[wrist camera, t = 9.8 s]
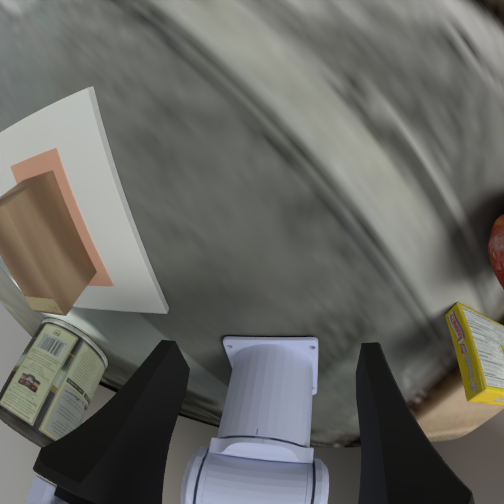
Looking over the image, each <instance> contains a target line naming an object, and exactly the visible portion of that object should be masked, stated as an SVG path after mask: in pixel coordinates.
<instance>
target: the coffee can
mask: <svg viewBox="0 0 504 504" xmlns="http://www.w3.org/2000/svg"><path fill="white" fill-rule="evenodd" d="M107 366H108V361H107V358H106V356H105V354H104V353H103V351H102V350H101V349H100V348H99V347H98V346H97V345H96V344H95V343H94V342H93V341H92V340H91V339H90V338H89V337H88V336H86V335H85V334H84V333H83V332H81V331H80V330H78V329H77V328H75V327H74V326H72V325H70V324H68V323H66V322H64V321H61V320H58V319H54V318H47V319H44V320H43V321H42V324H41V326H40V327H39V329H38V330H37V332H36V333H35V335H34V336H33V338H32V339H31V341H30V342H29V344H28V346H27V347H26V349H25V351H24V352H23V354H22V355H21V357H20V359H19V360H18V362H17V364H16V365H15V367H14V369H13V370H12V372H11V374H10V376H9V377H8V379H7V381H6V383H5V385H4V386H3V388H2V390H1V392H0V419H1V420H2V421H3V422H4V423H5V424H7V425H8V426H10V427H11V428H12V429H13V430H15V431H17V432H18V433H19V434H21V435H22V436H23V437H25V438H27V439H28V440H30V441H31V442H33V443H34V444H36V445H38V446H39V447H41V448H43V447H45V446H47V445H49V444H51V443H52V442H54V441H56V440H58V439H60V438H62V437H63V436H65V435H67V434H68V433H70V432H71V431H73V430H74V429H76V428H77V427H79V426H80V425H81V422H82V420H83V417H84V415H85V413H86V410H87V408H88V406H89V404H90V402H91V399H92V397H93V395H94V393H95V390H96V388H97V386H98V384H99V382H100V379H101V377H102V375H103V373H104V371H105V369H106V368H107Z"/></svg>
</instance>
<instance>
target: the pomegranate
mask: <svg viewBox="0 0 504 504" xmlns="http://www.w3.org/2000/svg"><path fill="white" fill-rule="evenodd" d="M487 249H488V253H489V259H490V263H491V265H492V268H493V271H494V273H495V275H496V277H497V279H498V281H499V283H500V284H501V286H502V287H503V289H504V214H503V215H501V216H500V217H498V218H497V219H496V221H495V222H494V224H493V227H492V229H491V234H490V237H489V240H488V248H487Z"/></svg>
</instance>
